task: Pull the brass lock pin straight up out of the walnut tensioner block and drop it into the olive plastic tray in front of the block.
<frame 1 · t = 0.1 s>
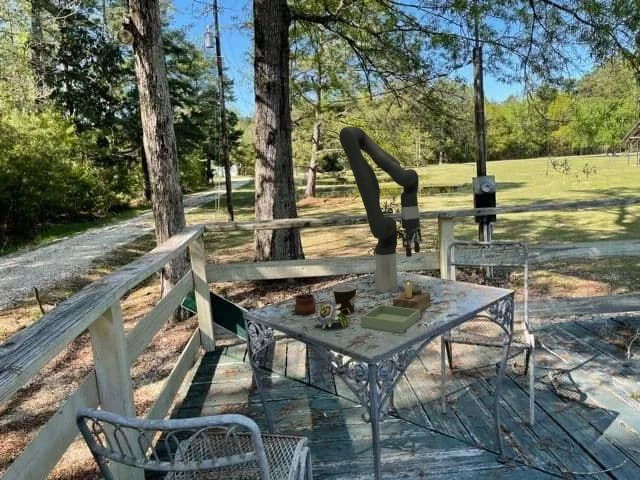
hand: (413, 254, 207), 17 cm above the table, tool pointing down, fingers open, 8 cm apart
pin tray: (391, 323, 175), on the table
coffee mug: (349, 313, 191), on the table
tensioner block: (412, 310, 187), on the table
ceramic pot: (305, 313, 196), on the table
lock pin: (409, 310, 185), point 1 cm above the table, touching tensioner block
passion flower: (332, 326, 178), on the table
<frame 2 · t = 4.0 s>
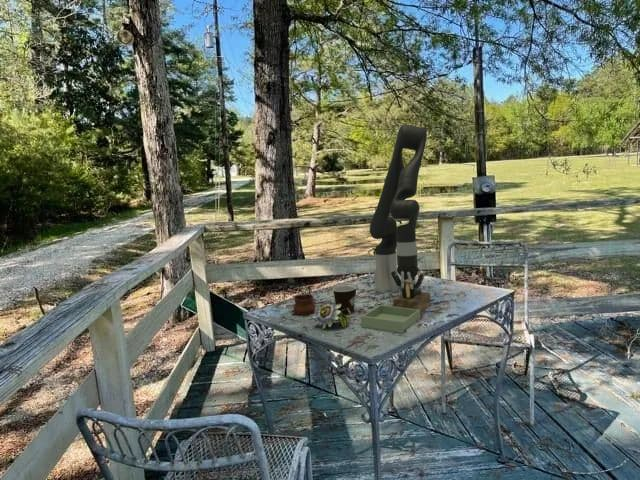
hand: (409, 297, 184), 6 cm above the table, tool pointing down, fingers closed on lock pin, 2 cm apart
lock pin: (409, 310, 185), point 1 cm above the table, touching gripper, tensioner block
everything else where it was.
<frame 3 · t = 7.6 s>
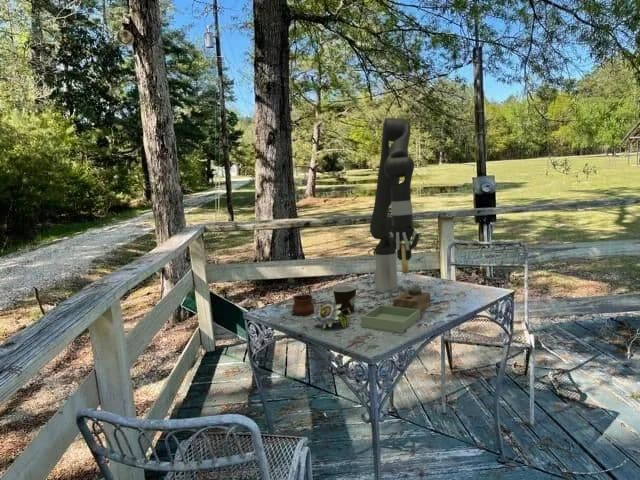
hand: (404, 259, 178), 22 cm above the table, tool pointing down, fingers closed on lock pin, 2 cm apart
lock pin: (405, 272, 179), point 17 cm above the table, touching gripper
everything else where it was.
when the fingers open (9 cm above the table, at t = 11.1 s): lock pin drops 3 cm, resting on pin tray.
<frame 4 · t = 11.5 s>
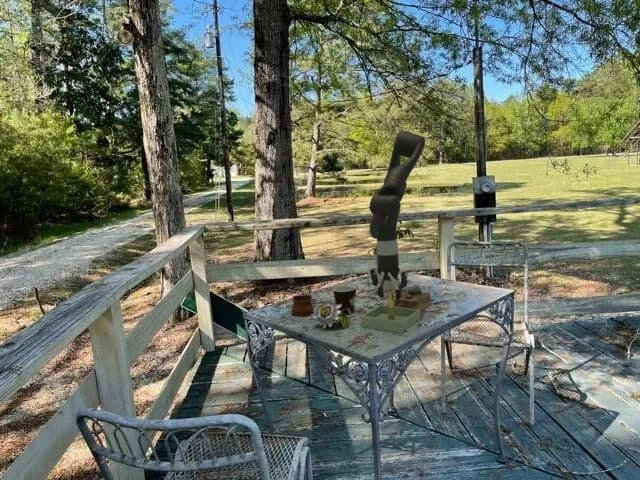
hand: (389, 298, 173), 10 cm above the table, tool pointing down, fingers open, 6 cm apart
lock pin: (391, 320, 175), point 1 cm above the table, touching pin tray
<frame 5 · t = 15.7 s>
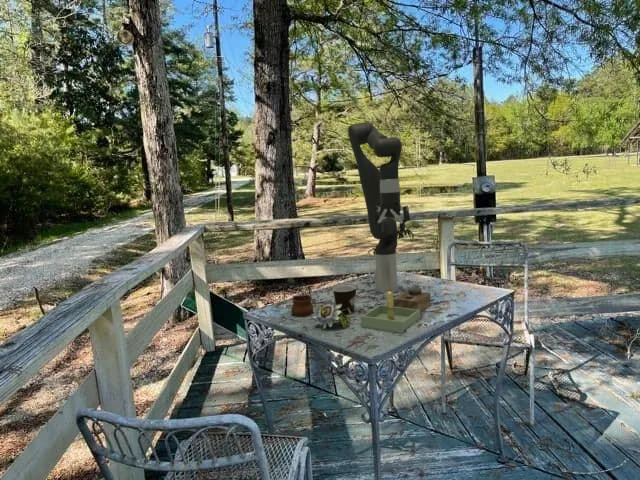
hand: (392, 232, 188), 30 cm above the table, tool pointing down, fingers open, 8 cm apart
at the end: lock pin inside the target area on the pin tray (0.0 cm from its centre), point 1.0 cm above the pin tray's base; the gripper is holding nothing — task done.
